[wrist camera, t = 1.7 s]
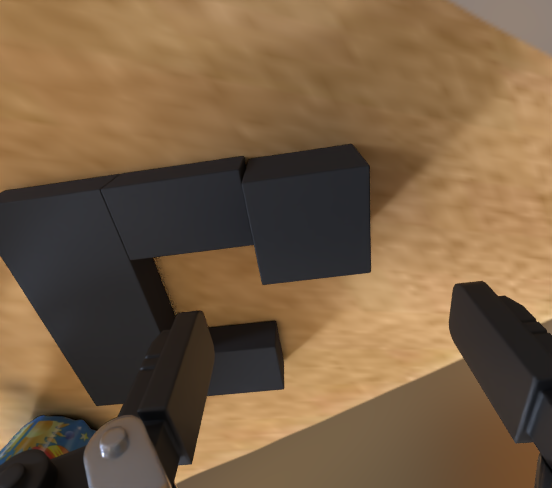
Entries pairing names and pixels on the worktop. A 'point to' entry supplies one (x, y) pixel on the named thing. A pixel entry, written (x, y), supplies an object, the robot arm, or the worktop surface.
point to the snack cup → (49, 437)
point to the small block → (309, 213)
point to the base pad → (131, 269)
